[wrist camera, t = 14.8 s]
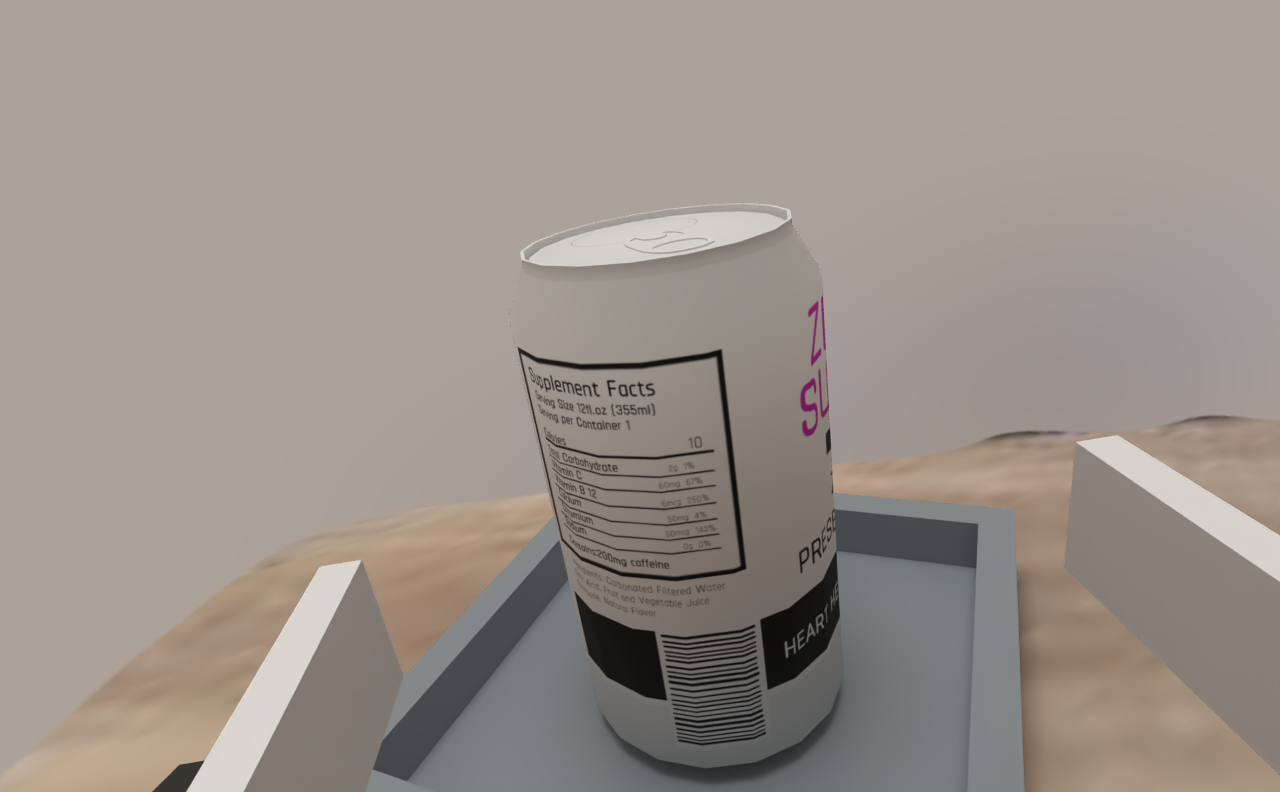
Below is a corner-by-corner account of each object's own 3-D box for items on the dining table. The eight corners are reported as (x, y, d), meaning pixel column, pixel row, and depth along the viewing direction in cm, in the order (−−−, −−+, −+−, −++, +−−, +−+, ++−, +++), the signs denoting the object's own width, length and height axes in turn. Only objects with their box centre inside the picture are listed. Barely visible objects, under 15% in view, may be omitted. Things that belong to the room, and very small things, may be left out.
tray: (1010, 575, 28) (1014, 509, 27) (1024, 1171, 13) (1035, 1083, 12) (606, 523, 36) (595, 471, 35) (331, 861, 21) (297, 789, 20)
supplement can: (568, 646, 26) (472, 245, 21) (763, 572, 29) (724, 191, 23) (648, 833, 19) (533, 297, 14) (899, 714, 22) (891, 212, 16)
